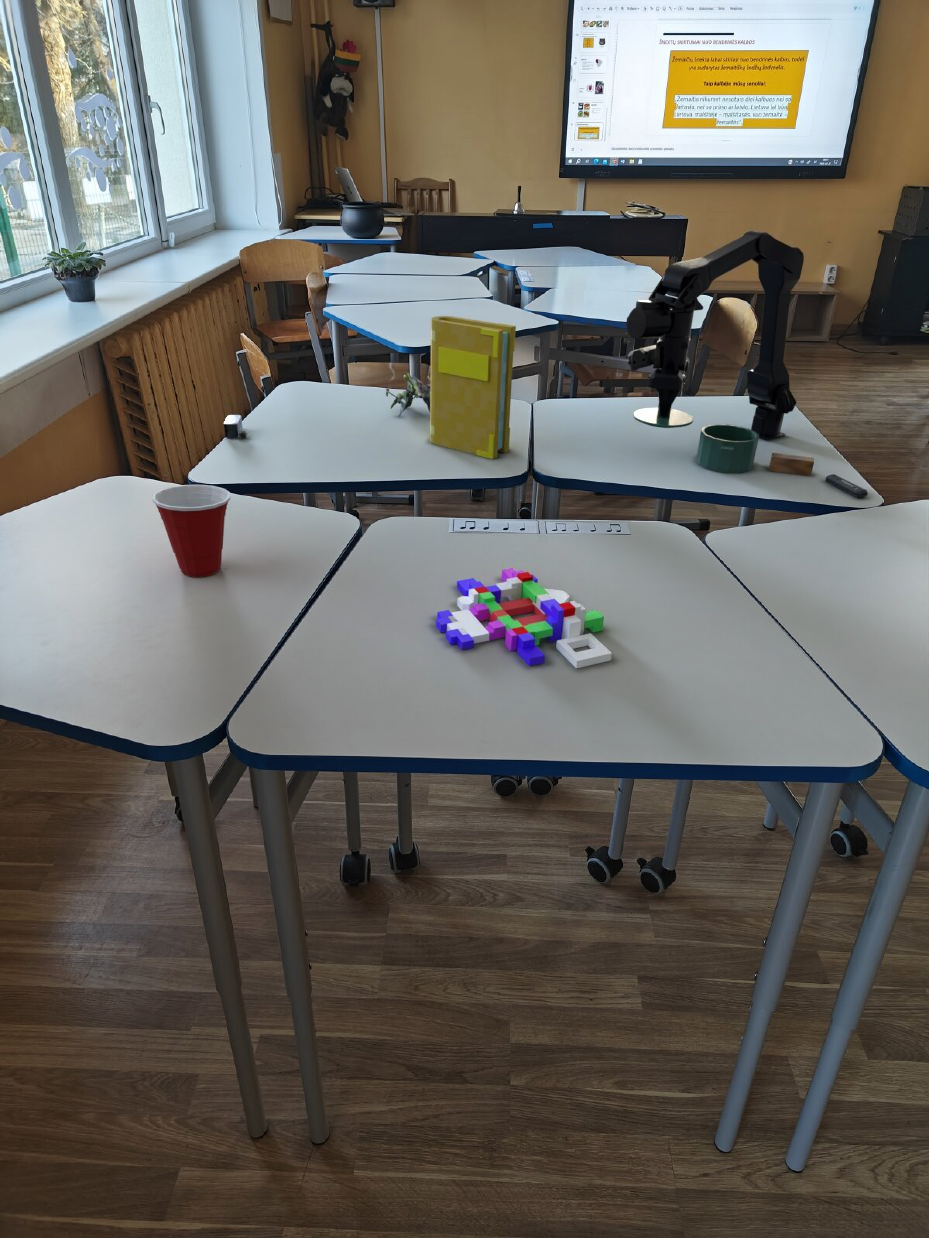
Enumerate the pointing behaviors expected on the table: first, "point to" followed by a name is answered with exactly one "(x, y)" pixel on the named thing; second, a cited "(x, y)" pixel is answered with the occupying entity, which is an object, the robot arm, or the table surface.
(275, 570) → the table surface
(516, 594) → the building block set
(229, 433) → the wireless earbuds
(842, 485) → the usb stick
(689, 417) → the lid
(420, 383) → the green spindly figure
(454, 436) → the book
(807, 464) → the wooden block
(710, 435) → the pot
